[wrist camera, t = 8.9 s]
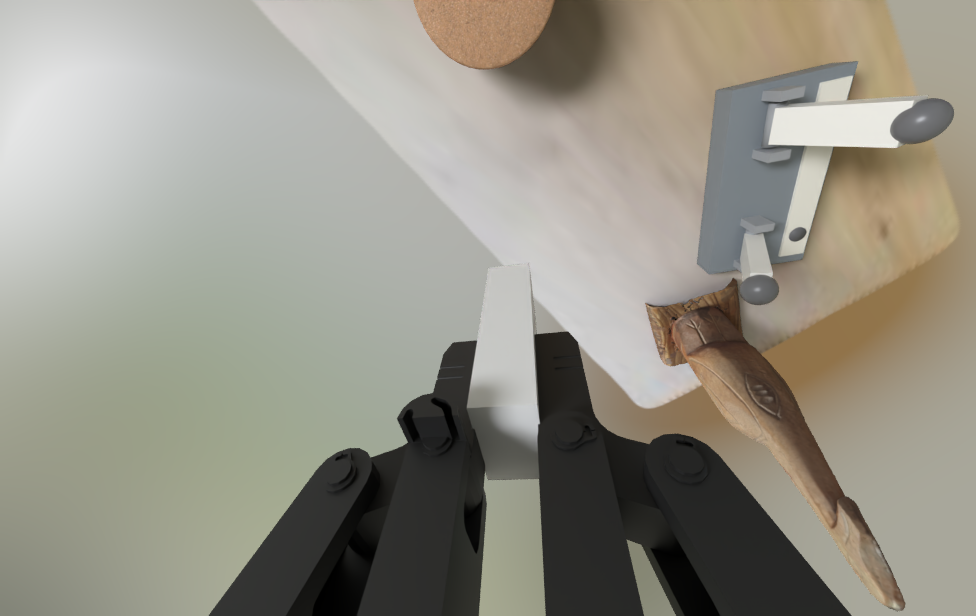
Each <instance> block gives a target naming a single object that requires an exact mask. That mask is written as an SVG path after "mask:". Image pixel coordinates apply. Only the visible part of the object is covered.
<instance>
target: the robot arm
mask: <svg viewBox="0 0 976 616" xmlns="http://www.w3.org/2000/svg"><path fill="white" fill-rule="evenodd" d="M397 419H398V422H399V424H400V426H401V428H402V430H403V433H404V435H405V437H406V439H407V441H408V443H407V444H405V445H404V446H402V447H399V448H397V449H395V450H392V451H389V452H386V453H383V454H380V455H377V456H375V457H371V458H370V456H369V454H368V453H367V452H366V451H364V450H362V449H360V448H349V449H346V450H343V451H340V452H337V453H336V454H334V455H333V456H331V457H330V458H328V459H327V460H326V461H325V462H324V463H323V464H322V465H321V466H320V467H319V468H318V469H317V470H316V472H315V473H314V475H313V476H312V477H311V478H310V480H309V481H308V482H307V484H306V485H305V486H304V488H303V489H302V490H301V492H300V493H299V495H298V496H297V497H296V499H295V500H294V501H293V503H292V504H291V505H290V507H289V508H288V510H287V511H286V512H285V513H284V515H283V516H282V517H281V519H280V520H279V521H278V523H277V524H276V526H275V527H274V528H273V530H272V531H271V532H270V534H269V535H268V536H267V538H266V539H265V540H264V542H263V543H262V544H261V546H260V547H259V548H258V550H257V551H256V553H255V554H254V555H253V557H252V558H251V559H250V561H249V562H248V563H247V565H246V566H245V567H244V569H243V570H242V571H241V573H240V574H239V575H238V577H237V578H236V579H235V581H234V582H233V583H232V585H231V586H230V587H229V589H228V590H227V592H226V593H225V594H224V596H223V597H222V598H221V600H220V601H219V602H218V604H217V605H216V606H215V608H214V609H213V610H212V612H211V613H210V615H209V616H479V603H480V588H481V575H482V560H483V547H484V534H485V533H484V532H485V520H486V505H487V503H486V495H485V492H484V488H483V487H484V476H485V475H484V474H485V472H486V475H487V479H488V480H512V479H539V485H540V506H541V525H542V546H543V565H544V566H543V567H544V588H545V606H546V607H545V609H546V616H644V614H643V610H642V606H641V601H640V596H639V592H638V588H637V583H636V579H635V575H634V571H633V566H632V562H631V557H630V554H629V549H628V544H627V540H630V541H633V542H635V543H638V544H641V545H642V547H643V549H644V551H645V553H646V555H647V557H648V559H649V561H650V563H651V565H652V567H653V569H654V571H655V573H656V575H657V577H658V580H659V582H660V584H661V586H662V588H663V590H664V592H665V594H666V596H667V598H668V600H669V602H670V604H671V606H672V608H673V610H674V612H675V614H676V616H851V614H850V613H849V612H848V611H847V610H846V608H845V607H844V606H843V605H842V603H841V602H840V601H839V600H838V599H837V597H836V596H835V595H834V594H833V593H832V591H831V590H830V589H829V588H828V587H827V586H826V584H825V583H824V582H823V581H822V579H821V578H820V577H819V576H818V575H817V574H816V572H815V571H814V570H813V569H812V567H811V566H810V565H809V564H808V562H807V561H806V560H805V559H804V558H803V556H802V555H801V554H800V553H799V552H798V550H797V549H796V548H795V547H794V546H793V544H792V543H791V542H790V541H789V540H788V538H787V537H786V536H785V535H784V533H783V532H782V531H781V530H780V529H779V527H778V526H777V525H776V524H775V523H774V521H773V520H772V519H771V518H770V516H769V515H768V514H767V513H766V512H765V511H764V509H763V508H762V507H761V506H760V504H759V503H758V502H757V501H756V500H755V499H754V497H753V496H752V495H751V494H750V493H749V491H748V490H747V489H746V487H745V486H744V485H743V484H742V483H741V481H740V480H739V479H738V478H737V477H736V475H735V474H734V473H733V472H732V471H731V469H730V468H729V467H728V466H727V465H726V463H725V462H724V461H723V460H722V458H721V457H720V456H719V455H718V454H717V453H716V452H715V451H713V450H712V449H711V448H710V447H709V446H708V445H707V444H705V443H703V442H701V441H699V440H697V439H695V438H693V437H690V436H686V435H681V434H665V435H662V436H660V437H658V438H656V439H653V440H652V442H651V443H650V444H646V443H642V442H638V441H634V440H630V439H626V438H623V437H620V436H617V435H615V434H614V433H612V432H610V431H608V430H607V429H606V428H605V427H604V426H602V425H601V424H600V423H599V421H598V420H597V418H596V417H595V414H594V412H593V409H592V404H591V399H590V395H589V390H588V386H587V381H586V377H585V373H584V369H583V364H582V359H581V355H580V350H579V346H578V342H577V341H576V340H575V339H574V337H573V336H572V335H571V334H570V333H569V332H558V333H545V334H537V330H536V318H535V310H534V301H533V292H532V284H531V275H530V266H529V263H525V264H517V265H509V266H500V267H492V268H489V269H488V275H487V283H486V289H485V295H484V301H483V307H482V314H481V320H480V327H479V333H478V340H477V341H466V342H456V343H455V342H454V343H452V344H451V346H450V347H449V348H448V349H447V351H446V352H445V353H444V355H443V358H442V362H441V366H440V370H439V374H438V380H437V381H436V384H435V388H434V392H433V393H431V394H427V395H422V396H420V397H418V398H416V399H414V400H412V401H411V402H410V403H409V404H407V405H406V406H405V407H404V408H403V410H402V411H401V413H400V414H399V416H398V418H397ZM626 539H627V540H626Z"/></svg>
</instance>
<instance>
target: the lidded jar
mask: <svg viewBox="0 0 976 616" xmlns="http://www.w3.org/2000/svg"><path fill="white" fill-rule="evenodd" d="M554 3H555V0H414V4H415V7H416V10H417V13H418V16H419V18H420V20H421V22H422V24H423V26H424V29H425V30H426V32H427V33H428V35H429V36H430V38H431V40H432V41H433V42H434V43H435V44H436V45H437V47H438V48H439V49H440V50H441V51H442V52H443V53H445V54H446V55H447V56H448V57H449V58H451V59H453V60H454V61H456V62H457V63H459V64H462V65H464V66H467V67H470V68H475V69H494V68H500V67H502V66H505V65H507V64H510V63H512V62H513V61H515V60H517V59H518V58H520V57H521V56H522V55H523V54H524V53H526V52H527V51H528V50H529V49H530V48H531V46H532V45H533V44H534V43H535V42H536V41H537V39H538V38H539V36H540V35H541V33H542V31H543V30H544V28H545V26H546V24H547V22H548V20H549V17H550V15H551V12H552V9H553V6H554Z"/></svg>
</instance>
